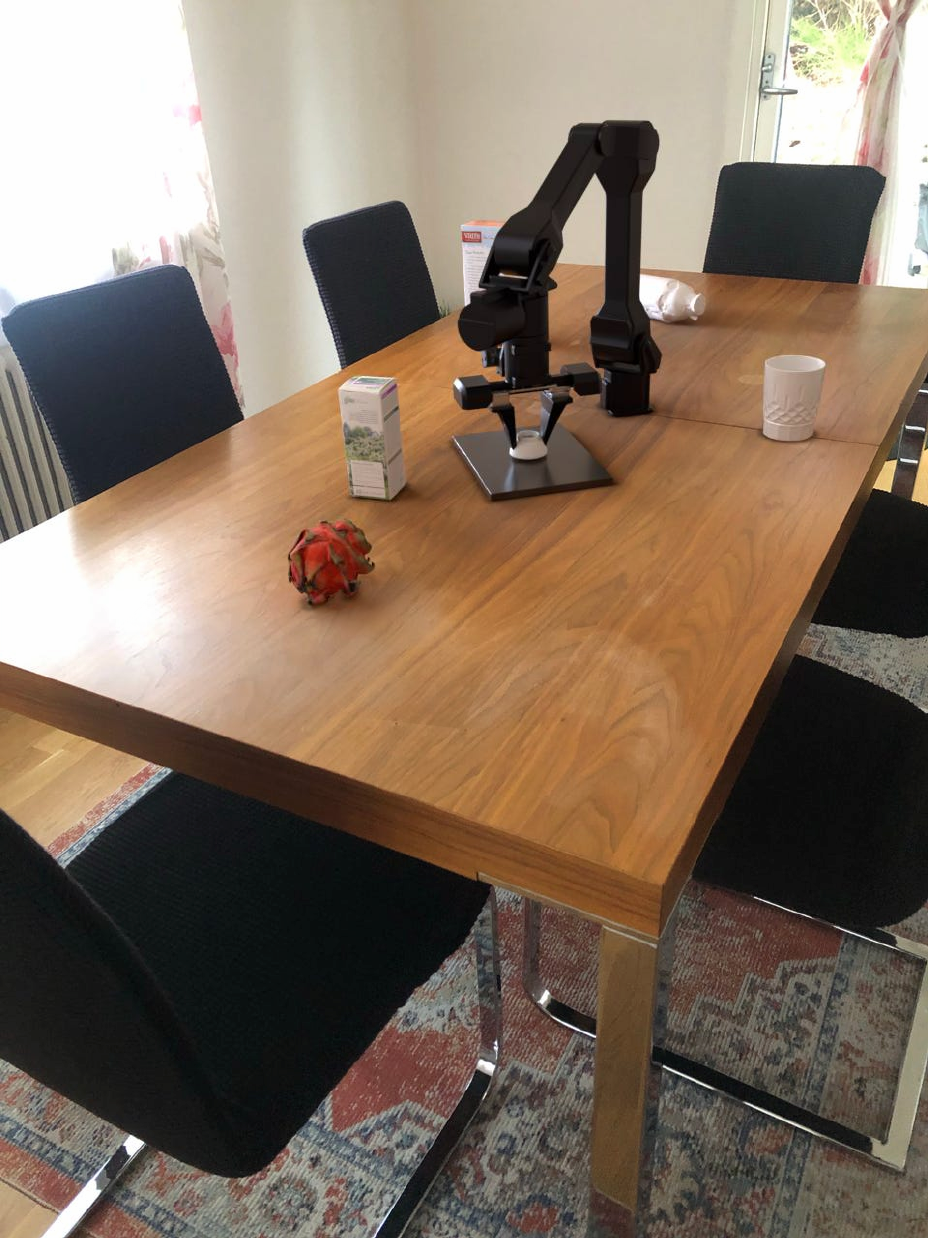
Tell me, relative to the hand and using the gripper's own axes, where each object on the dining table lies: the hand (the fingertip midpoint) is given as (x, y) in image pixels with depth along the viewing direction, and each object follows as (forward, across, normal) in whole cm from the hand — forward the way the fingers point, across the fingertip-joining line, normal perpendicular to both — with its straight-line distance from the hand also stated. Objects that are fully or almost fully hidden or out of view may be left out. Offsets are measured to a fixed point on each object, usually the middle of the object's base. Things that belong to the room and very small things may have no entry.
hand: (528, 448), depth 139 cm
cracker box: (+2, -13, -60) cm, 61 cm away
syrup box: (+2, +21, +3) cm, 21 cm away
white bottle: (+2, -45, -64) cm, 78 cm away
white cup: (+2, -37, +2) cm, 37 cm away
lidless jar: (+1, 0, 0) cm, 1 cm away
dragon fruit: (+2, +30, +29) cm, 42 cm away
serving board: (+2, 0, 0) cm, 2 cm away
